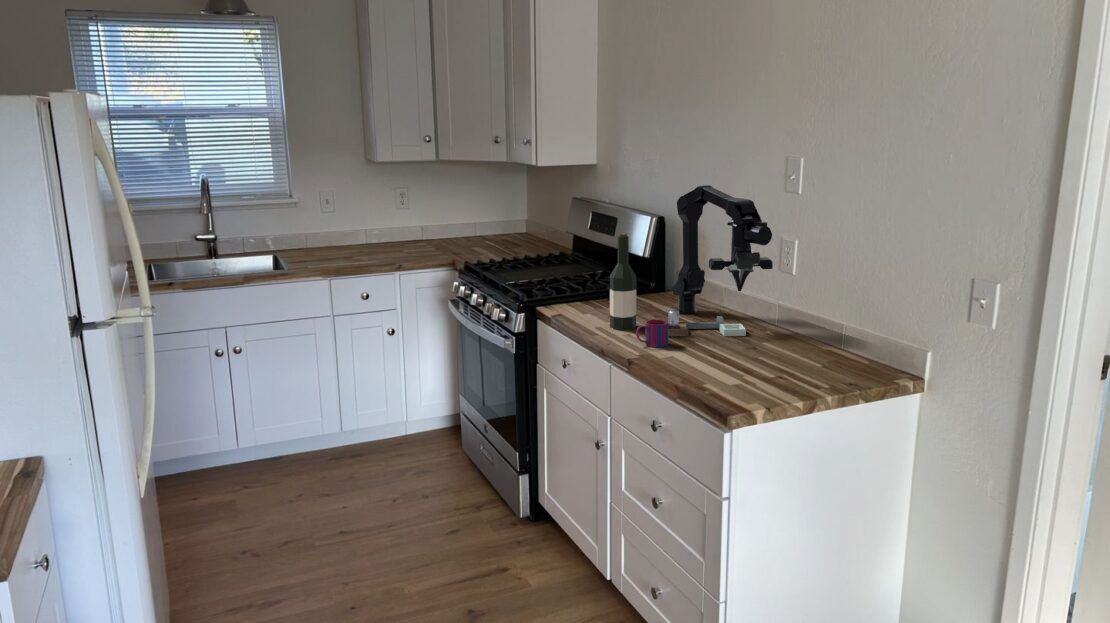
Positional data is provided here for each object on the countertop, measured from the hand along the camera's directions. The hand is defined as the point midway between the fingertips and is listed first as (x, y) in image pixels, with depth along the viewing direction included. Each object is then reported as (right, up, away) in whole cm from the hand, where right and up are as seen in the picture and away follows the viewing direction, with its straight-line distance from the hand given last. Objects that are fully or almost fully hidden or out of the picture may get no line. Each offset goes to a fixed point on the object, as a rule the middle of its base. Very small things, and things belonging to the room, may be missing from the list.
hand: (739, 290), depth 254 cm
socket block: (-21, -13, 0) cm, 24 cm away
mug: (-29, -16, -14) cm, 36 cm away
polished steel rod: (-21, -13, -2) cm, 25 cm away
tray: (-3, -13, -3) cm, 14 cm away
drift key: (-11, -12, +3) cm, 17 cm away
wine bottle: (-36, -12, +7) cm, 38 cm away
